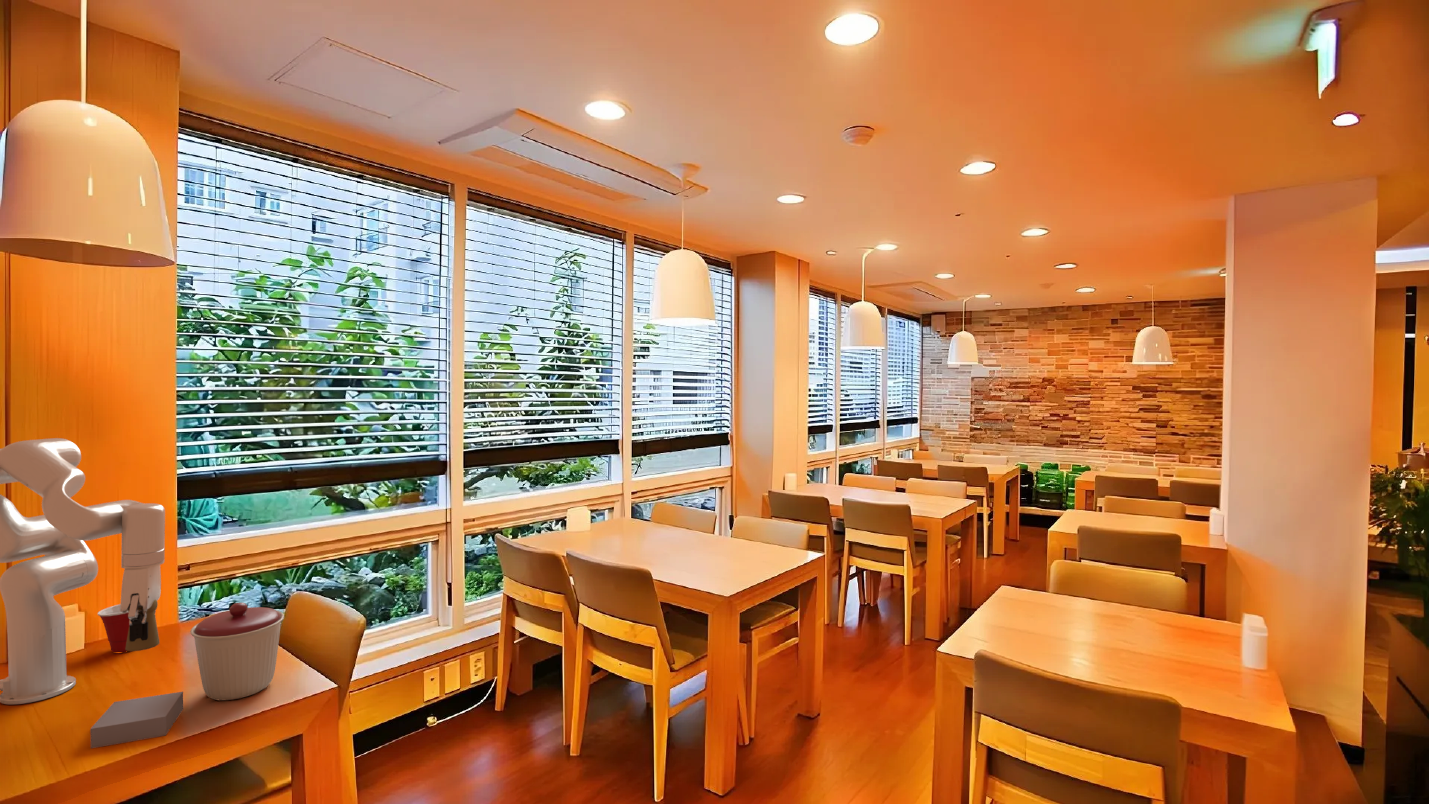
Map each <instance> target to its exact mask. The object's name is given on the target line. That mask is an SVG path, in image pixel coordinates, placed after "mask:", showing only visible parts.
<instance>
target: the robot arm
mask: <svg viewBox="0 0 1429 804" xmlns="http://www.w3.org/2000/svg"><path fill="white" fill-rule="evenodd" d="M81 453H82V452H81V450H80V448H79V447H78V445H77V444H76V443H74V442H72V441H71V440H68V439H66V438H62V437H61V438H59V437H55V438H43V439H40V438H39V439H29V440H22V441H21V440H19V441H16V442H13V443H10V444H8V445H6V446H4V447H2V448H0V485H4V484H10V483H11V484H12V483H20V484H22V485H24V486H25V487H26V488H28V489H30V490H31V491H33V492H34V493H35V494H37V495H39V496H40V497H41V498H42V500H41V508H42V512H43V514H42V515H41V514H40V515H37V516H31V517H27V516H24V515H22V514H21V513H20V512H19V510H18V509H17V508H16V506H15V505H14V503H13V502H12V501H11V500H9V498H7V497H5V496H4V495H2V494H1V493H0V563H1V564H3V563H5V564H6V563H13V562H18V561H20V562H19V563H16V564H14V565H12V566H10V567H8V568H7V569H6V570H5V571H4V572H3V573H2V575H1V576H0V594H1V598H2V601H3V603H4V609H5V614H6V630H7V631H6V632H7V661H8V676H7V677H5V678H3V679H0V691H1V693H0V703H1V704H4V705H23V704H30V703H34V702H40V701H43V700H48V699H51V698H52V697H55V696H58V695H61V694H64V693H65V692H67V691H69V690H71V689H72V688H73V687H75V685H76V684H77V682H76V681H77V679H76V677H74V676H71V675H68V674H67V642H66V638H67V637H66V633H67V632H66V613H65V610H64V609H63V607H62V605H60V603H59V602H57V601H56V600H55V598H54V596H57V595H59V594H62V593H65V592H69V591H72V590H75V589H78V588H82V587H84V586H87V585H88V584H90V583H91V582H93V581H94V580H95V579H96V577H97V576H98V572H99V565H98V561H97V559H96V557H95V554H93V552H92V550H91V549H90V548H89V546H88V545H87V543H86V542H85V541H87V542H88V541H93V540H97V539H101V538H105V537H110V536H115V535H119V534H121V555H120V556H121V563H120V565H121V568H122V569H124V571H123V575H122V581H121V582H122V583H121V591H120V592H121V593H120V604H121V606H120V611H121V612H122V613H125V612H126V611H127V610H129V608H130V610H129V614H128V618H129V619H130V621H129V625H130V634H129V640H130V641H131V642H133V641H135V640H136V639H139V638H141V640H142V641H143V640H147V639H148V622H146V620H147V609H149V608H150V607H151V606H152V604H153V602H154V600H155V599H156V600H157V601H158V600H160V597H161V594H162V593H161V591H162V590H161V588H162V579H161V578H162V575H161V568H162V567H161V566H162V565H163V564H164V563H165V558H166V557H165V553H166V552H165V549H166V547H165V544H166V543H165V541H166V540H165V537H166V533H165V531H166V529H165V527H166V509H165V507H164V506H163V505H162V504H159V503H153V502H151V503H150V502H149V503H144V502H140V501H137V500H132V499H122V500H116V501H110V502H109V501H108V502H103V503H98V504H92V505H88V506H84V505H82V504H80V503H78V502H76V501H75V500H73V499H72V497H74V496H75V495H76V494H77V493H78V492H79V491H80V490H81V489H82V488H83V486H84V485H85V482H86V475H85V473H84V472H83V471H82V470H81V469H79V468H78V466H79V464H80V462H81V460H82V454H81ZM43 555H44V556H43ZM37 556H38V557H37ZM39 556H40V557H39ZM34 557H35V558H34ZM30 558H32V559H30ZM26 559H29V560H26ZM21 560H24V561H21ZM130 603H131V605H130ZM129 605H130V606H129ZM139 607H143V608H142V610H138V608H139ZM156 610H157V609H156ZM156 610H155V611H154V612H155V613H156ZM142 612H143V613H142ZM138 613H142V616H141V614H138Z"/></svg>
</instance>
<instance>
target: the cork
mask: <svg viewBox="0 0 1429 804" xmlns="http://www.w3.org/2000/svg"><path fill="white" fill-rule="evenodd" d="M130 605H131V603H130ZM130 605H129V606H130ZM158 606H159V605H158V600H156V599H155V600H154V602H153V604H152V606H151V607H150V608H149V609H147V620H146V622H148V639H147V640H143V641H142V640H141V638H139V639H136V640H135V641H133V642H131V641H130V640H129V634H130V625H129V631H128V637H127V642H126V648H125V650H127V651H130V652H140V651H145V650H149V649H153V648H155V647H156V646H159V644H160V637H159V631H158V626H157V624H158V623H157V618H156V612H154V611H155V610H157V608H158ZM142 608H143V607H139V608H138V610H142ZM129 610H130V608H129ZM129 610H128V612H129ZM142 613H143V612H142ZM142 613H138V614H141V616H142Z"/></svg>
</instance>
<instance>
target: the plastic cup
mask: <svg viewBox="0 0 1429 804" xmlns="http://www.w3.org/2000/svg"><path fill="white" fill-rule="evenodd" d="M120 606H121V603H119V604H115V605H113V606H108V607H106V608H104V609H101V610H99V611H98V612H97V616H98V617H99V618H100V619H101V620H102V624H103V625H104V630H105V633H106V637H107V641H108V642H109V647H110V649H111V652H112V651H113V652H126V651H127V650H125V648H126V642H127V637H128V631H129V621H130V619H129V618H128V614H129V612H128V610H127V611H126V612H125V613H122V612H121V611H120ZM126 653H127V652H126Z"/></svg>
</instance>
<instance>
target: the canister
mask: <svg viewBox="0 0 1429 804" xmlns="http://www.w3.org/2000/svg"><path fill="white" fill-rule="evenodd" d="M284 619H285V614H284V613H283V612H282V611H280V610H276V609H274V608H271V607H266V606H265V607H261V606H258V607H257V606H255V607H254V606H253V607H248V605H247V603H245V602H235V603H233V604H232V605H231V606H230V607H229V609H228V610H227V611H222V612H219V613H217V614H213V615H211V616H208V617H207V618H204V619H203V620H201V621H200V622H198V623H197V624H195V625H194V626H193V627H192V628H191V629H190V633H189V634H190V635H191V636H192V637H194V644H195V650H196V655H197V656H196V657H197V663H198V669H199V670H198V671H199V675H200V679H201V680H200V681H201V685H202V689H203V691H204V693H205V695H206V696H207V697H208V698H210V699H212V700H216V701H230V700H238V699H242V698H246V697H249V696H252V695H255V694H256V693H259V692H261V691H263V690H264V689H266V688H267V687H268V686H269V685H270V684H271V683H272V681H273V678H274V676H275V672H276V665H277V659H278V650H279V644H280V643H279V641H280V635H281V633H280V631H281V623H282V622H283V621H284Z"/></svg>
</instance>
